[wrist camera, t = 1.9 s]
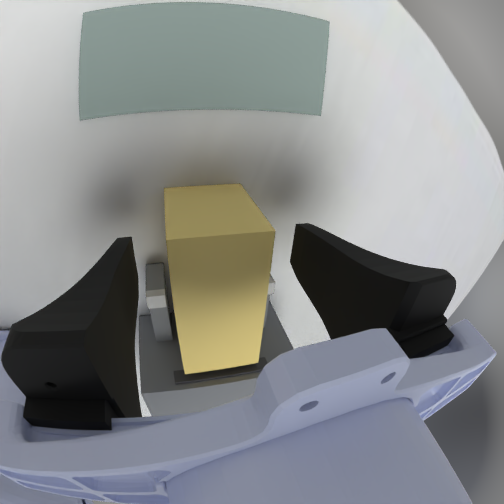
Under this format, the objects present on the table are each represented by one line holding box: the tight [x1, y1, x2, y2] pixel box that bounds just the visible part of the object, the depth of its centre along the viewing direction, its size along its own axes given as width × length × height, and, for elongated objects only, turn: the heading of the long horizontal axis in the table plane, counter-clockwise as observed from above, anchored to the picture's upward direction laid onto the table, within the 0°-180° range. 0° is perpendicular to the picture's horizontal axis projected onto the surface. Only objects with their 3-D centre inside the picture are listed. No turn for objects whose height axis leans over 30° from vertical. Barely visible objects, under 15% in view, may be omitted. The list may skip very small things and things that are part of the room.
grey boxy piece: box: [139, 263, 293, 416], centre depth 17 cm, size 9×10×6 cm
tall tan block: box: [164, 184, 275, 374], centre depth 15 cm, size 4×8×6 cm, turn 175°
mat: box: [79, 2, 330, 121], centre depth 11 cm, size 12×6×1 cm, turn 85°
